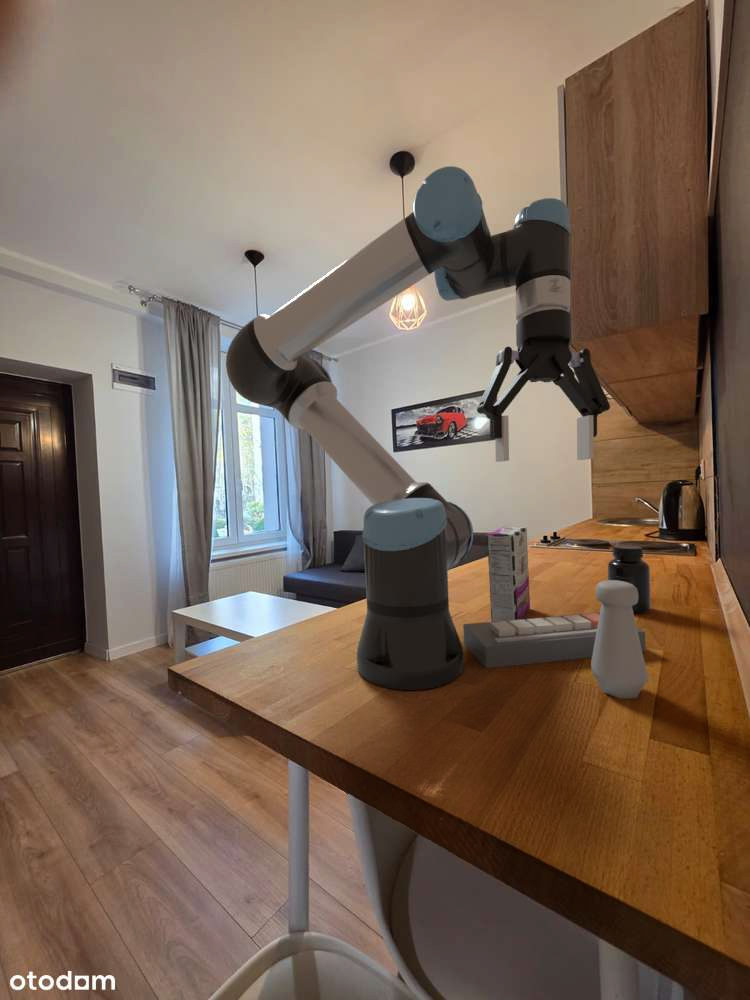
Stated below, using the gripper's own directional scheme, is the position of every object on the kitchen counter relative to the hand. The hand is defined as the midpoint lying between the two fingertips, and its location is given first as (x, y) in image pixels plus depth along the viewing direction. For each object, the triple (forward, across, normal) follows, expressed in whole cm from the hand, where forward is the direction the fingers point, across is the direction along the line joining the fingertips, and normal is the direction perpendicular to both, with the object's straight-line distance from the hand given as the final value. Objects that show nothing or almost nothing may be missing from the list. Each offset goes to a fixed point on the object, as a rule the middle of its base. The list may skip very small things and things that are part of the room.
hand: (544, 460), depth 59 cm
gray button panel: (+28, 0, -1) cm, 29 cm away
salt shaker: (+28, +1, -14) cm, 32 cm away
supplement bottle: (+28, +24, +12) cm, 39 cm away
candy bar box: (+29, +2, +14) cm, 32 cm away
